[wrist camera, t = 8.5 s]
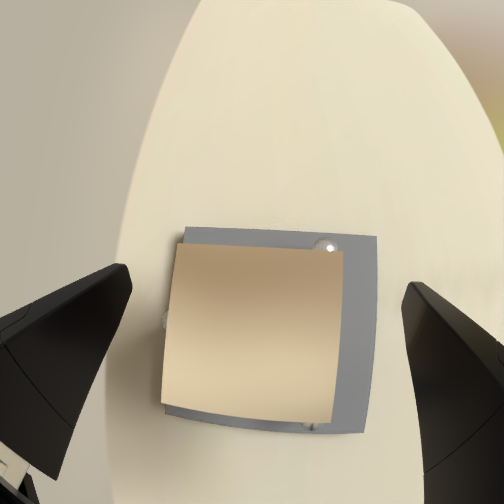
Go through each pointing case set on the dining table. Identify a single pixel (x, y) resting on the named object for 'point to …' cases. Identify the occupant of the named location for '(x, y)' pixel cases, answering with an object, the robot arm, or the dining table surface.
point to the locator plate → (351, 334)
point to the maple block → (254, 332)
